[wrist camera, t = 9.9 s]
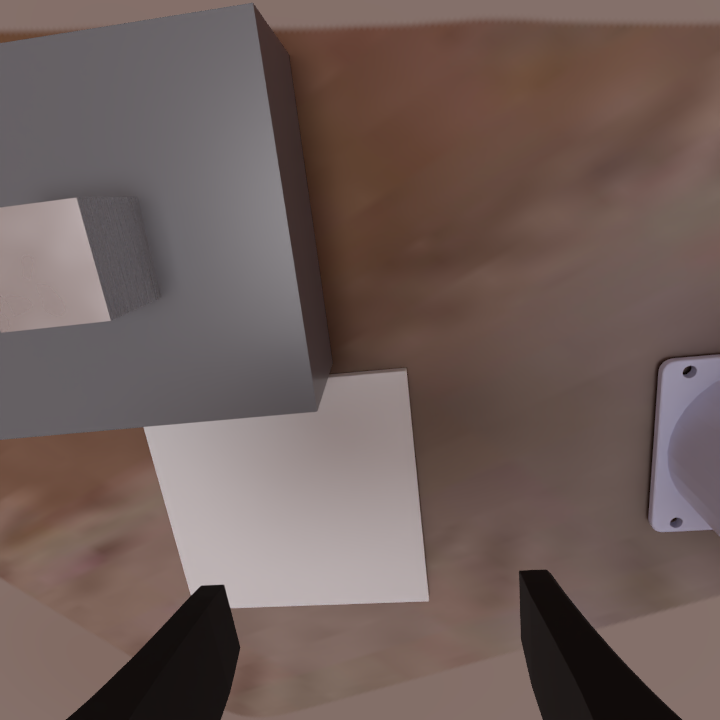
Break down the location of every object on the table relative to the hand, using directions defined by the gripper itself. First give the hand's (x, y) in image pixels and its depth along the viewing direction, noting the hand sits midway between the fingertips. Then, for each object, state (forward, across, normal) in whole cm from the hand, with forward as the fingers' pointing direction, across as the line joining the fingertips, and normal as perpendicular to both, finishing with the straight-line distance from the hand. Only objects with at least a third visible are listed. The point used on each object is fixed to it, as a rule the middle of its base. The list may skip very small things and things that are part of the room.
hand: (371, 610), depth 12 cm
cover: (+10, +8, -9) cm, 16 cm away
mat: (+10, +5, +4) cm, 12 cm away
